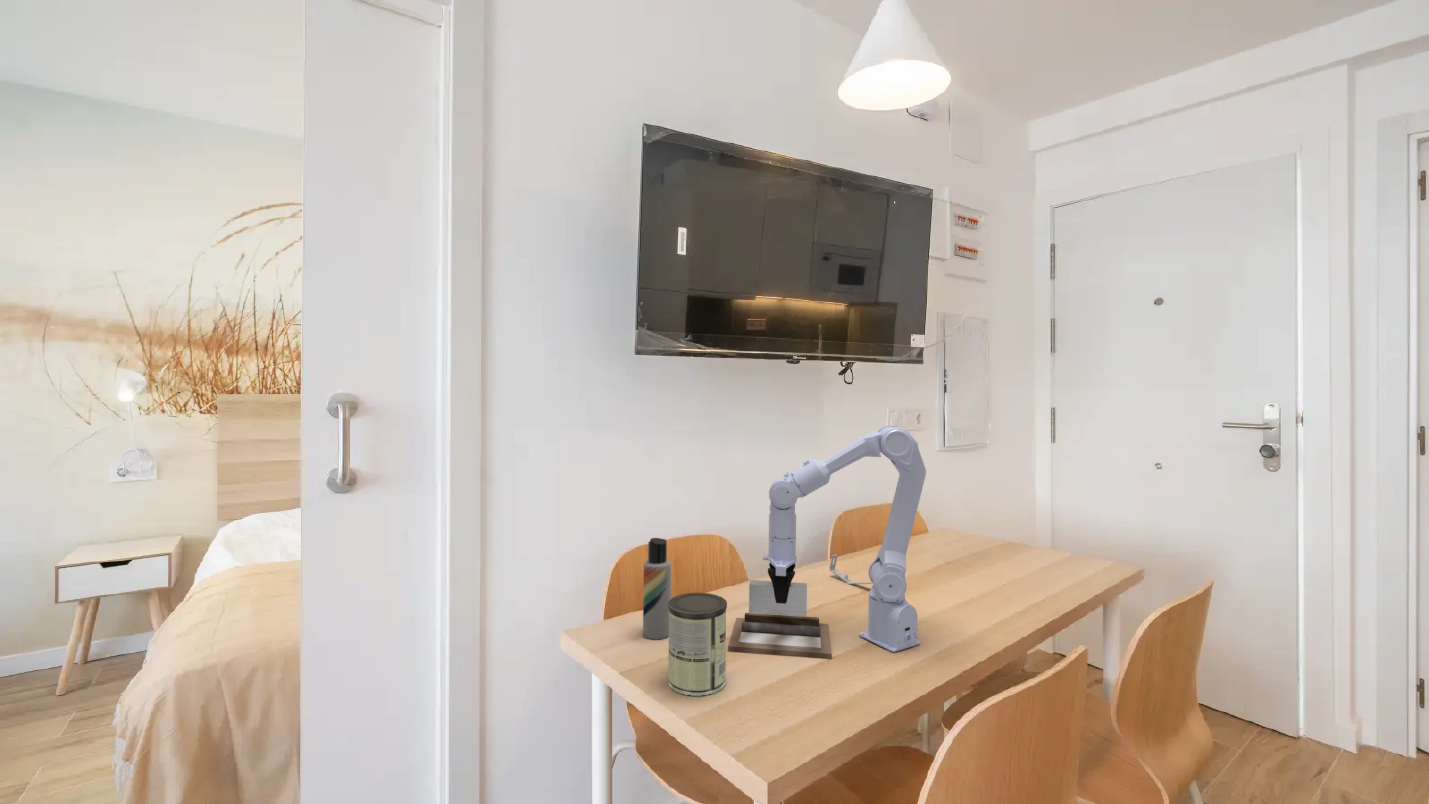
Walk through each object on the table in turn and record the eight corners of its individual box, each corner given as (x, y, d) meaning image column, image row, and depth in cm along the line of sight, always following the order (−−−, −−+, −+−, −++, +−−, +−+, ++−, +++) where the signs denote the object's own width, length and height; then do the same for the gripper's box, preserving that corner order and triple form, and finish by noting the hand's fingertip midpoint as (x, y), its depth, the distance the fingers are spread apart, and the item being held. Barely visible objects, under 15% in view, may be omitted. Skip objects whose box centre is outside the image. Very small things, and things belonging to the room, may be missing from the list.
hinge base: (828, 628, 128) (828, 614, 128) (831, 658, 113) (831, 643, 113) (736, 622, 131) (736, 608, 131) (728, 651, 116) (728, 636, 116)
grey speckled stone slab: (806, 611, 126) (806, 583, 126) (806, 616, 123) (806, 587, 123) (750, 607, 128) (750, 580, 128) (748, 612, 125) (749, 584, 125)
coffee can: (668, 668, 109) (669, 592, 109) (724, 668, 109) (725, 592, 109) (665, 697, 98) (666, 612, 98) (727, 697, 99) (728, 612, 99)
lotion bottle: (656, 626, 128) (657, 534, 128) (675, 633, 124) (676, 539, 124) (637, 635, 124) (638, 539, 123) (656, 642, 120) (657, 544, 120)
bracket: (871, 582, 152) (832, 555, 164) (867, 602, 153) (828, 574, 165) (876, 581, 153) (837, 554, 165) (872, 601, 154) (833, 572, 166)
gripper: (765, 527, 133) (764, 587, 133) (761, 543, 119) (760, 611, 119) (797, 529, 132) (796, 589, 132) (796, 545, 118) (795, 613, 118)
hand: (781, 600), depth 125 cm, fingers closed on grey speckled stone slab, 3 cm apart
